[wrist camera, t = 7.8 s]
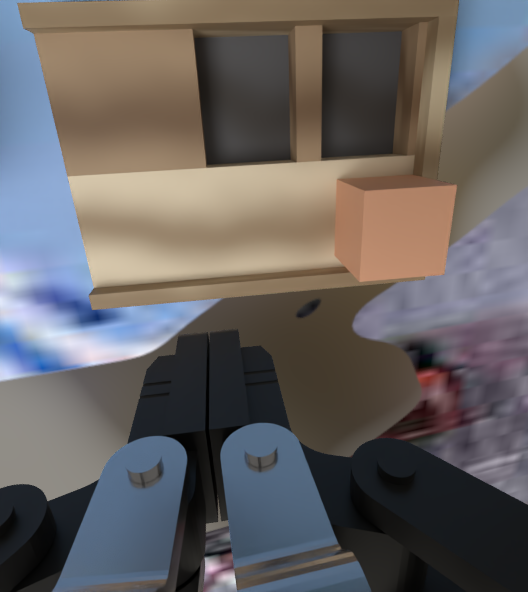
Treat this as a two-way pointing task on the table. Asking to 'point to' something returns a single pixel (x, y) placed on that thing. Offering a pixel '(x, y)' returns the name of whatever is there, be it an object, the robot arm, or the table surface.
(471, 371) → the table surface
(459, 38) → the table surface
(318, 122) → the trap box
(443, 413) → the table surface
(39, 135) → the table surface
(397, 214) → the block
